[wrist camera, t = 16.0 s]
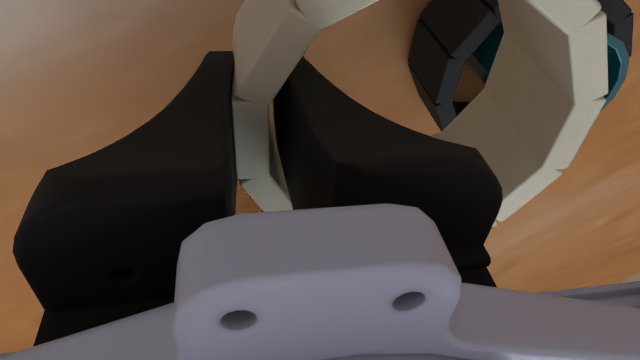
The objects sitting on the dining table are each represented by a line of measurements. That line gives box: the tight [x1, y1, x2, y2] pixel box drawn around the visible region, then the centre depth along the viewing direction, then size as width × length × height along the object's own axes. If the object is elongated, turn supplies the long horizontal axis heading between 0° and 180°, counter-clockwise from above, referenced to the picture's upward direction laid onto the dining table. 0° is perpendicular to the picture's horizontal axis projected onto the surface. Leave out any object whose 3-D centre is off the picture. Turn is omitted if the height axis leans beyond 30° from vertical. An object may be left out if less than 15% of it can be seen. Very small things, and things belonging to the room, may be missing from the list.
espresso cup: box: [465, 22, 629, 111], centre depth 21 cm, size 5×5×6 cm
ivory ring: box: [231, 0, 608, 227], centre depth 12 cm, size 9×9×4 cm
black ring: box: [408, 0, 633, 131], centre depth 22 cm, size 9×9×4 cm
